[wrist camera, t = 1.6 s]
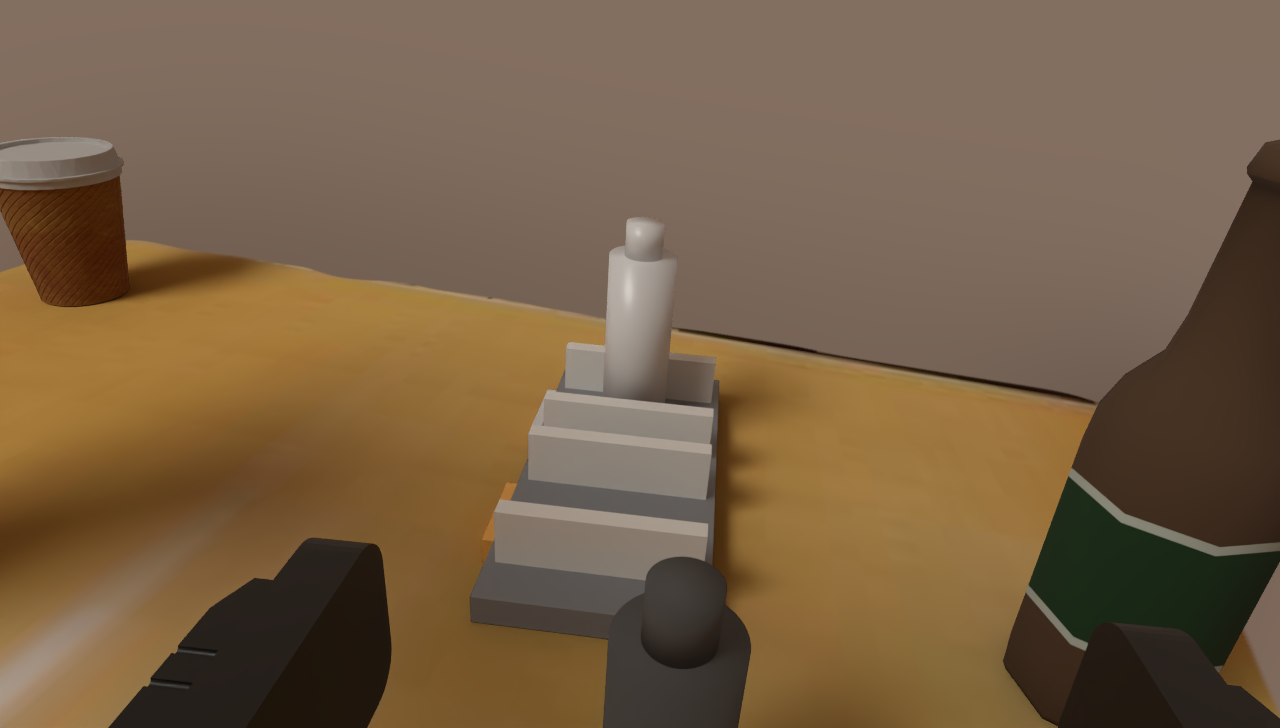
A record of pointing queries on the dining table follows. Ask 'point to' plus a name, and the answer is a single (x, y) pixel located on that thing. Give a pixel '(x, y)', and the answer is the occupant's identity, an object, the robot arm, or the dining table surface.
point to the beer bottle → (1173, 477)
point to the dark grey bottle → (677, 652)
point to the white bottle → (639, 314)
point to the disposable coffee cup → (66, 216)
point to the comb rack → (601, 499)
